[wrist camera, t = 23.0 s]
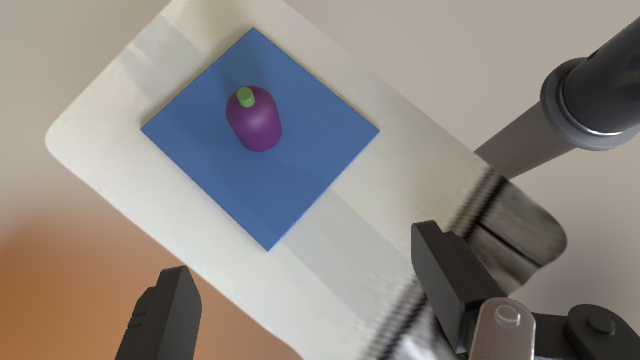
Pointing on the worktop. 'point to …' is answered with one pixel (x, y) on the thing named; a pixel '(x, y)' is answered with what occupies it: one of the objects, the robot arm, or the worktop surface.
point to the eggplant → (254, 118)
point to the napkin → (267, 166)
